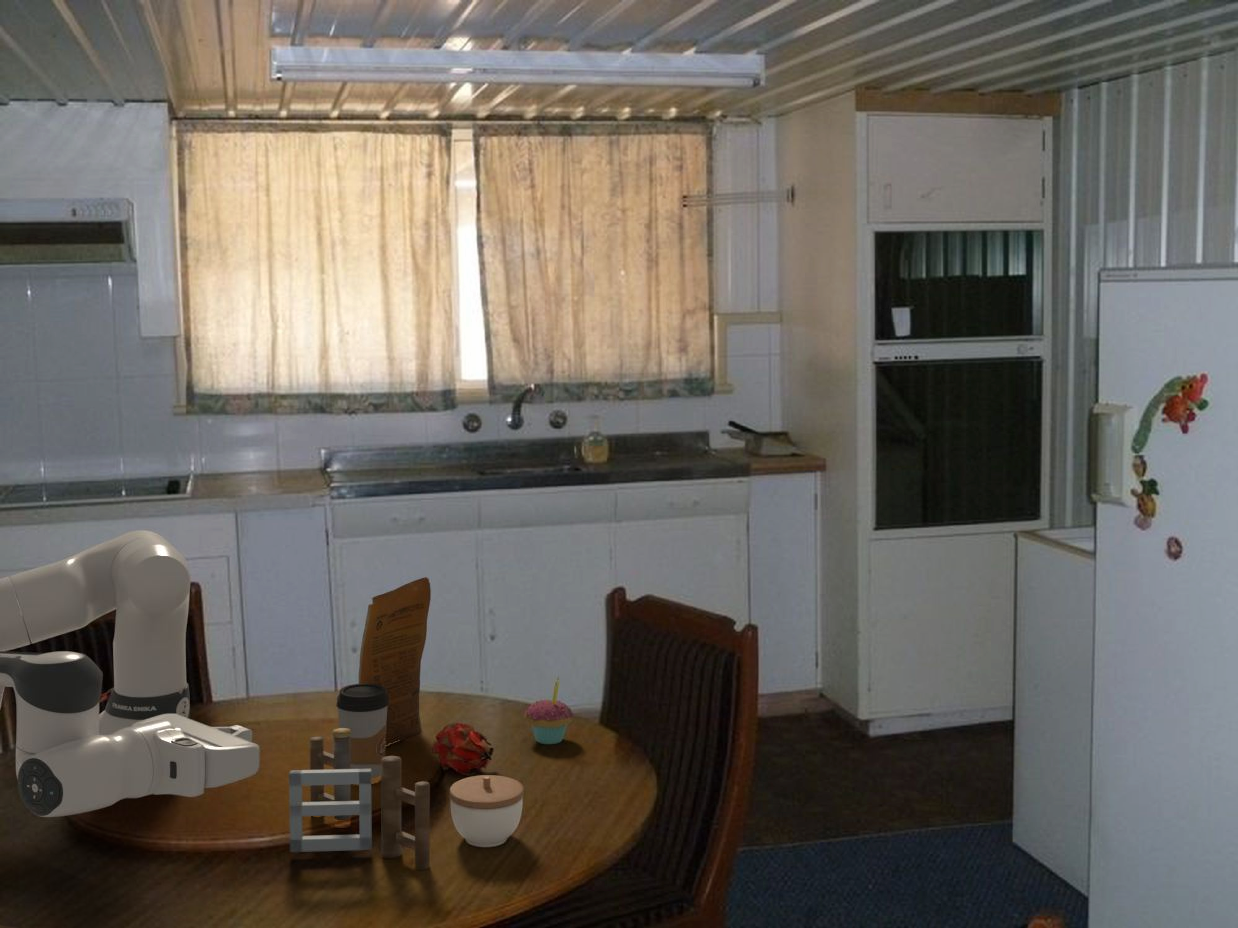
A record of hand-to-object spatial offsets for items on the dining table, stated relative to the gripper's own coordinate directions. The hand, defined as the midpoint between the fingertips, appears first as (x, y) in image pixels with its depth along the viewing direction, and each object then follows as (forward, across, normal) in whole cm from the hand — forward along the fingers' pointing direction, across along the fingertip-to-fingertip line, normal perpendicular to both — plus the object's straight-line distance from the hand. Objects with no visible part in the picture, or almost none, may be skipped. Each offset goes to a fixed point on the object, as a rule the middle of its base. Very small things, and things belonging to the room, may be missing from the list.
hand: (245, 732), depth 183 cm
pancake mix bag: (+50, -26, -19) cm, 59 cm away
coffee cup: (+34, -15, -19) cm, 42 cm away
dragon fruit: (+48, -6, -19) cm, 52 cm away
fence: (+19, +4, -19) cm, 27 cm away
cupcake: (+68, -5, -18) cm, 71 cm away
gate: (+12, +4, -19) cm, 22 cm away
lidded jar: (+30, +16, -19) cm, 40 cm away
